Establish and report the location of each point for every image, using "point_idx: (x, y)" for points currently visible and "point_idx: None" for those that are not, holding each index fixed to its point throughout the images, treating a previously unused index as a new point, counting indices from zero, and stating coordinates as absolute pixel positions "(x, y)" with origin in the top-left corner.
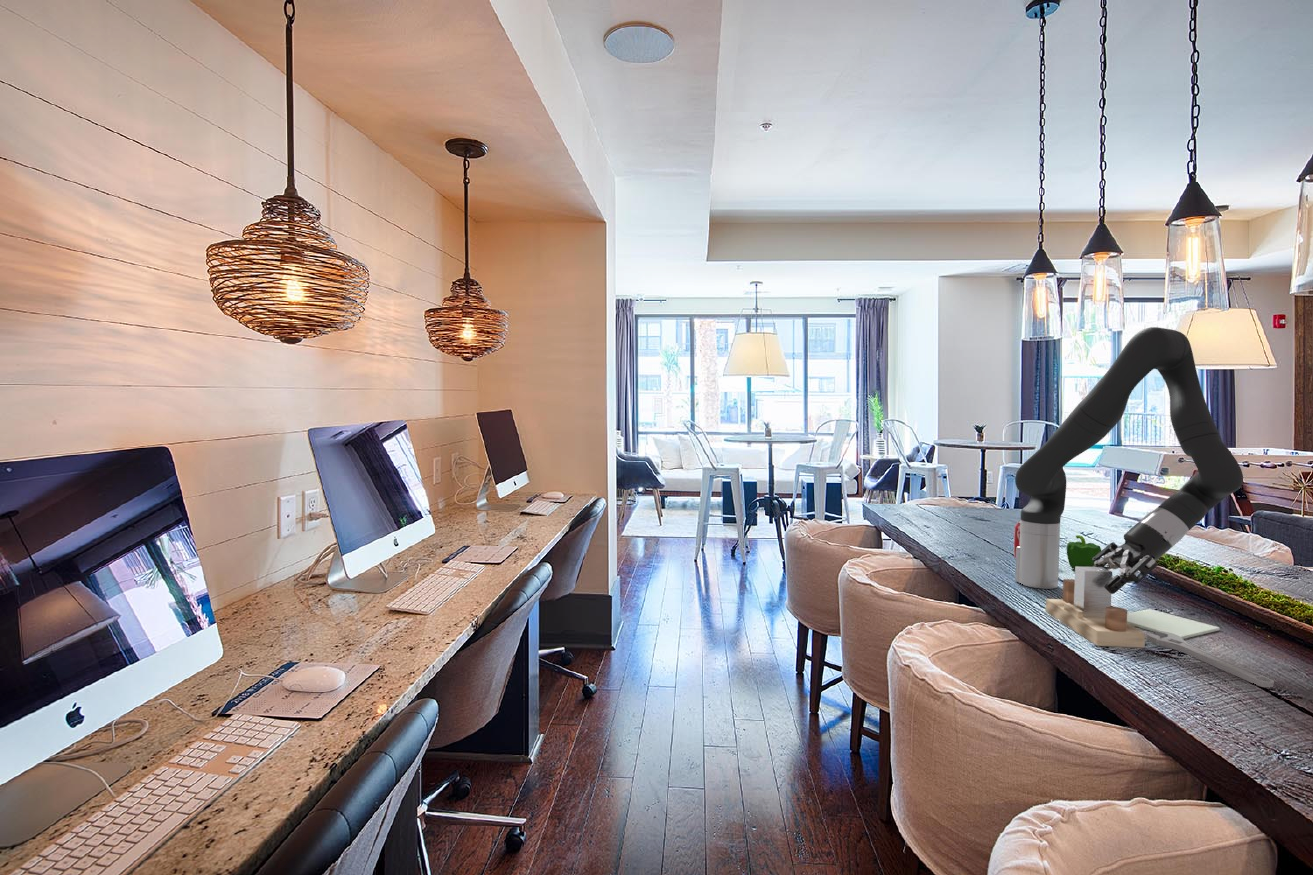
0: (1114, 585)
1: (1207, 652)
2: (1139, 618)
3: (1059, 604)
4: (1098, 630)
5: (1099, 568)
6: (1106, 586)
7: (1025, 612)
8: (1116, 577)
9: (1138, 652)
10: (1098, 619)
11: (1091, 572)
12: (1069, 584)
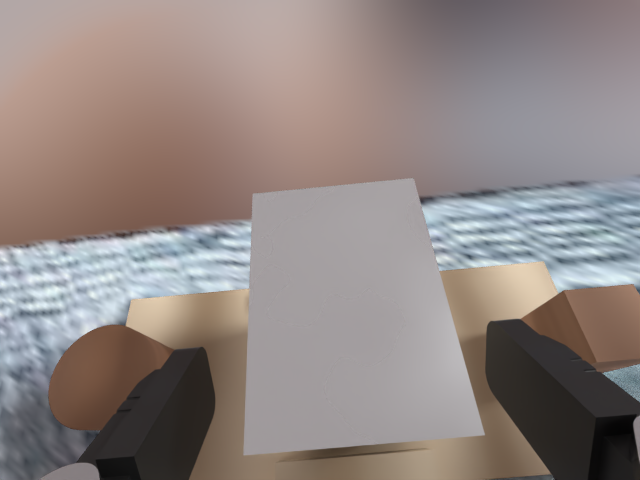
0: (131, 398)
1: None
2: None
3: (466, 286)
4: (137, 305)
5: (389, 365)
6: (177, 351)
7: (471, 217)
8: (119, 431)
9: (84, 437)
10: None
11: (253, 245)
12: (556, 302)
